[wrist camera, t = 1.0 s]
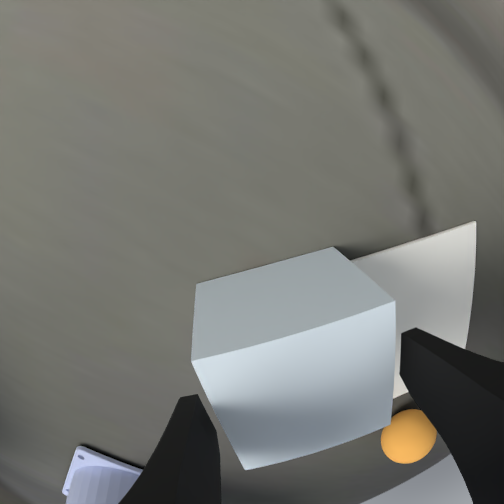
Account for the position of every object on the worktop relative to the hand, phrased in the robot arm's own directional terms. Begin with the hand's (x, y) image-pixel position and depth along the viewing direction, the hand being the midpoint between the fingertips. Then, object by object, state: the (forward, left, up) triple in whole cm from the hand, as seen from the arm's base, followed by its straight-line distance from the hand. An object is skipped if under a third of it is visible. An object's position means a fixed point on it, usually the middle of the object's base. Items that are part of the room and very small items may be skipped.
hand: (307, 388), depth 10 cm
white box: (0, 0, -5) cm, 5 cm away
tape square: (+2, -7, -4) cm, 8 cm away
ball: (-3, -12, -3) cm, 13 cm away
